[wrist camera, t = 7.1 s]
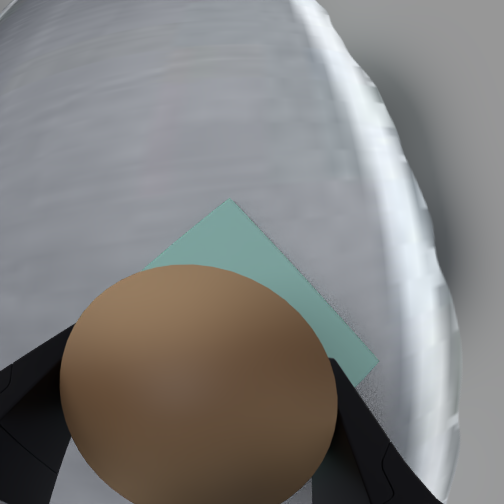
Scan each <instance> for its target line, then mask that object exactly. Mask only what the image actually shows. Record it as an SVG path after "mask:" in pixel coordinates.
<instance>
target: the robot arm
mask: <svg viewBox="0 0 504 504" xmlns="http://www.w3.org/2000/svg"><path fill="white" fill-rule="evenodd" d="M75 324H76V323H75ZM75 324H73V325H72V326H70V327H69V328H67V329H65V330H64V331H62V332H61V333H59V334H57V335H56V336H54V337H53V338H51V339H49V340H48V341H46V342H45V343H43V344H42V345H40V346H38V347H37V348H35V349H34V350H32V351H31V352H29V353H27V354H26V355H24V356H23V357H21V358H20V359H18V360H17V361H15V362H14V363H13V364H10V365H9V366H7V367H6V368H4V369H3V370H1V371H0V504H49V502H50V499H51V495H52V492H53V489H54V486H55V482H56V479H57V476H58V473H59V470H60V467H61V464H62V461H63V458H64V455H65V452H66V449H67V447H68V444H69V441H70V438H71V434H70V432H69V429H68V426H67V423H66V421H65V417H64V413H63V409H62V404H61V396H60V369H61V363H62V357H63V353H64V350H65V346H66V343H67V340H68V338H69V336H70V334H71V332H72V330H73V327H74V325H75ZM328 358H329V361H330V363H331V367H332V370H333V374H334V377H335V383H336V390H337V419H336V425H335V431H334V434H333V437H332V440H331V443H330V447H329V449H328V451H327V453H326V455H325V457H324V459H323V461H322V463H321V464H320V466H319V467H318V469H317V470H316V471H315V473H314V474H313V476H312V504H443V503H442V502H440V501H439V500H438V499H437V498H436V497H435V496H434V495H433V494H432V493H431V492H430V491H429V490H428V488H427V487H426V486H425V485H424V484H423V483H422V482H421V480H420V479H419V478H418V477H417V476H416V475H415V473H414V472H413V471H412V470H411V469H410V467H409V466H408V465H407V464H406V462H405V461H404V460H403V458H402V457H401V455H400V454H399V453H398V451H397V450H396V448H395V447H394V445H393V444H392V442H390V439H389V438H388V436H387V435H386V433H385V432H384V430H383V429H382V427H381V426H380V424H379V423H378V422H377V420H376V419H375V417H374V416H373V414H372V413H371V411H370V410H369V408H368V407H367V405H366V404H365V402H364V401H363V399H362V398H361V396H360V395H359V393H358V392H357V390H356V389H355V387H354V386H353V385H352V383H351V382H350V380H349V379H348V377H347V376H346V374H345V373H344V371H343V370H342V368H341V367H340V365H339V364H338V362H337V361H336V360H335V359H334V358H330V357H328Z"/></svg>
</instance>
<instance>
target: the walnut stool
mask: <svg viewBox="0 0 504 504" xmlns="http://www.w3.org/2000/svg"><path fill="white" fill-rule="evenodd" d="M60 396H61V404H62V409H63V413H64V417H65V421H66V423H67V426H68V429H69V432H70V434H71V436H72V438H73V440H74V442H75V444H76V446H77V448H78V450H79V451H80V453H81V454H82V456H83V457H84V459H85V460H86V462H87V463H88V464H89V466H90V467H91V468H92V469H93V470H94V472H95V473H96V474H97V475H98V476H99V477H100V478H101V479H102V480H103V481H104V482H105V483H106V484H107V485H109V486H110V487H111V488H112V489H113V490H115V491H116V492H117V493H119V494H120V495H121V496H123V497H124V498H126V499H127V500H129V501H131V502H132V503H134V504H280V503H282V502H284V501H285V500H287V499H288V498H290V497H291V496H292V495H293V494H295V493H296V492H297V491H298V490H299V489H301V488H302V487H303V486H304V484H305V483H306V482H307V481H308V480H309V479H310V478H311V477H312V476H313V474H314V473H315V471H316V470H317V469H318V467H319V466H320V464H321V463H322V461H323V459H324V457H325V455H326V453H327V451H328V449H329V447H330V443H331V440H332V437H333V434H334V431H335V425H336V419H337V390H336V383H335V377H334V374H333V370H332V367H331V363H330V361H329V358H328V356H327V354H326V352H325V349H324V347H323V345H322V343H321V342H320V340H319V338H318V337H317V335H316V334H315V332H314V331H313V329H312V328H311V326H310V325H309V324H308V323H307V322H306V320H305V319H304V318H303V317H302V316H301V314H300V313H299V312H298V311H297V310H295V309H294V308H293V307H292V306H291V305H290V304H289V303H288V302H287V301H286V300H285V299H283V298H282V297H280V296H279V295H278V294H276V293H275V292H273V291H272V290H270V289H269V288H267V287H265V286H264V285H262V284H260V283H258V282H256V281H254V280H252V279H250V278H248V277H245V276H243V275H240V274H237V273H235V272H232V271H228V270H224V269H220V268H216V267H211V266H202V265H194V264H191V265H169V266H162V267H155V268H152V269H148V270H145V271H141V272H138V273H136V274H134V275H131V276H129V277H127V278H124V279H122V280H121V281H119V282H117V283H116V284H114V285H113V286H111V287H109V288H108V289H106V290H105V291H104V292H103V293H102V294H100V295H99V296H98V297H97V298H96V299H95V300H94V301H93V302H92V303H91V304H90V305H89V306H88V307H87V308H86V310H85V311H84V312H83V313H82V315H81V316H80V318H79V319H78V321H77V322H76V324H75V325H74V327H73V330H72V332H71V334H70V336H69V338H68V340H67V343H66V346H65V350H64V353H63V357H62V363H61V369H60Z"/></svg>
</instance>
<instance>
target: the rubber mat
mask: <svg viewBox="0 0 504 504" xmlns="http://www.w3.org/2000/svg"><path fill="white" fill-rule="evenodd" d="M191 264H194V265H202V266H211V267H216V268H220V269H224V270H228V271H232V272H235V273H237V274H240V275H243V276H245V277H248V278H250V279H252V280H254V281H256V282H258V283H260V284H262V285H264V286H265V287H267V288H269V289H270V290H272V291H273V292H275V293H276V294H278V295H279V296H280V297H282V298H283V299H285V300H286V301H287V302H288V303H289V304H290V305H291V306H292V307H293V308H294V309H295V310H297V311H298V312H299V313H300V314H301V316H302V317H303V318H304V319H305V320H306V322H307V323H308V324H309V325H310V326H311V328H312V329H313V331H314V332H315V334H316V335H317V337H318V338H319V340H320V342H321V343H322V345H323V347H324V349H325V352H326V354H327V356H328V357H330V358H334V359H335V360H336V361H337V362H338V364H339V365H340V367H341V368H342V370H343V371H344V373H345V374H346V376H347V377H348V379H349V380H350V382H351V383H352V385H353V386H354V387H356V386H357V385H358V384H359V383H360V382H361V381H362V380H363V379H364V378H365V376H366V375H367V374H368V373H369V372H370V371H371V370H372V369H373V368H374V367H375V366H376V365H377V363H378V362H379V360H378V359H377V358H376V357H375V356H374V355H373V353H372V352H371V351H370V350H369V349H368V348H367V347H366V346H365V344H364V343H363V342H362V341H361V340H360V339H359V338H358V337H357V335H356V334H355V333H354V332H353V331H352V330H351V329H350V328H349V326H348V325H347V324H346V323H345V322H344V321H343V320H342V319H341V318H340V316H339V315H338V314H337V313H336V312H335V311H334V310H333V309H332V308H331V306H330V305H329V304H328V303H327V302H326V301H325V300H324V299H323V298H322V296H321V295H320V294H319V293H318V292H317V291H316V290H315V289H314V288H313V287H312V285H311V284H310V283H309V282H308V281H307V280H306V279H305V278H304V277H303V276H302V275H301V273H300V272H299V271H298V270H297V269H296V268H295V267H294V266H293V265H292V264H291V263H290V262H289V260H288V259H287V258H286V257H285V256H284V255H283V254H282V253H281V252H280V251H279V250H278V249H277V247H276V246H275V245H274V244H273V243H272V242H271V241H270V240H269V239H268V238H267V237H266V236H265V235H264V234H263V232H262V231H261V230H260V229H259V228H258V227H257V226H256V225H255V224H254V223H253V222H252V221H251V220H250V219H249V218H248V217H247V215H246V214H245V213H244V212H243V211H242V210H241V209H240V208H239V207H238V206H237V205H236V204H235V203H234V202H233V201H232V200H231V199H230V198H229V199H228V200H226V201H225V202H224V203H222V204H221V205H220V206H219V207H217V208H216V209H215V210H214V211H212V212H211V213H210V214H209V215H207V216H206V217H205V218H204V219H202V220H201V221H200V222H199V223H197V224H196V225H195V226H194V227H193V228H191V229H190V230H189V231H188V232H186V233H185V234H184V235H183V236H182V237H180V238H179V239H178V240H177V241H176V242H174V243H173V244H172V245H171V246H170V247H168V248H167V249H166V250H165V251H164V252H163V253H161V254H160V255H159V256H158V257H157V258H156V259H154V260H153V261H152V262H151V263H150V264H149V265H147V266H146V267H145V268H144V269H143V270H142V271H145V270H148V269H152V268H155V267H162V266H169V265H191Z"/></svg>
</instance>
